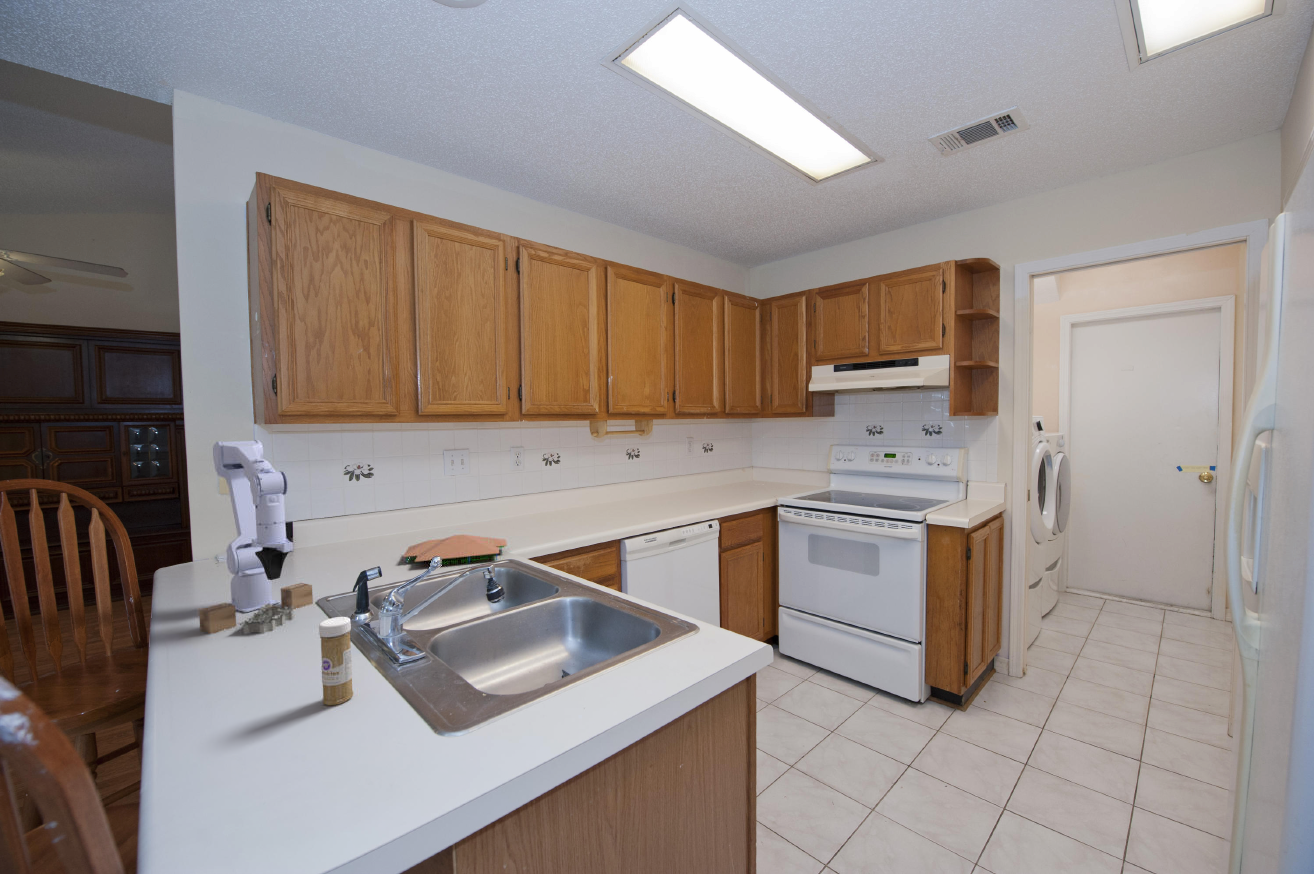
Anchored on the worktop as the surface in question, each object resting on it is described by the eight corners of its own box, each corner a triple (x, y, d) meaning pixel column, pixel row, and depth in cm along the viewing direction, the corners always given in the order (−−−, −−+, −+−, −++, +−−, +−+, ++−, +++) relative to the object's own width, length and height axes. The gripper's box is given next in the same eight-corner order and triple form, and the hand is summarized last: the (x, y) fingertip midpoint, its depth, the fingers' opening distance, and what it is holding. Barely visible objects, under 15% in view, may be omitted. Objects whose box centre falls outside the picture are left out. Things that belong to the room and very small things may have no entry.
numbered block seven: (200, 630, 124) (198, 608, 123) (225, 623, 128) (224, 601, 128) (210, 634, 121) (209, 611, 121) (236, 626, 126) (235, 604, 125)
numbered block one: (281, 607, 138) (280, 587, 138) (302, 601, 143) (301, 581, 143) (292, 610, 136) (291, 589, 136) (312, 603, 140) (311, 584, 140)
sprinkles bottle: (316, 706, 88) (312, 626, 88) (333, 692, 93) (329, 616, 92) (344, 706, 88) (340, 625, 88) (359, 691, 93) (355, 615, 92)
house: (508, 561, 179) (507, 537, 178) (399, 573, 168) (398, 547, 168) (505, 546, 200) (504, 524, 200) (409, 555, 190) (408, 533, 190)
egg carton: (270, 618, 131) (269, 601, 131) (300, 617, 131) (299, 600, 131) (235, 635, 121) (234, 617, 120) (268, 634, 121) (267, 616, 120)
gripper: (236, 523, 129) (239, 579, 129) (268, 528, 122) (271, 587, 122) (268, 518, 135) (271, 571, 135) (301, 522, 128) (304, 578, 128)
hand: (273, 578), depth 129 cm, fingers closed
